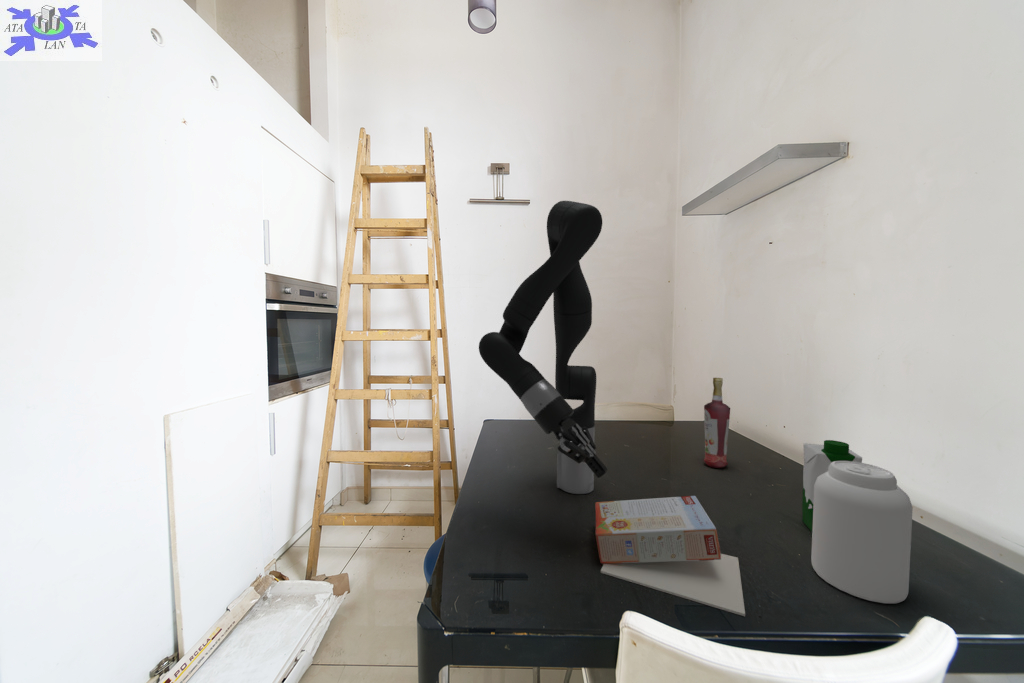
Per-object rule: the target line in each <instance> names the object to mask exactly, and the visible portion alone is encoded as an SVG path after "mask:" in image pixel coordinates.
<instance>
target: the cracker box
mask: <svg viewBox="0 0 1024 683" xmlns="http://www.w3.org/2000/svg"><path fill="white" fill-rule="evenodd" d="M594 504H595V506H594V507H595V539H596V540H595V541H596V546H597V550H598V557H599V562H600V564H604V563H634V562H665V561H699V560H721V554H722V553H721V546H720V542H719V535H718V531H717V528H716V526H715V524H714V523H713V521H712V520H711V518H710V517H709V515H708V514H707V512H706V511H705V509H704V507H703V506H702V504H701V502H700V501H699V499H698V497H697V496H696V495H686V496H685V495H683V496H670V497H668V496H667V497H657V498H656V497H655V498H641V499H639V498H638V499H623V500H611V501H609V500H608V501H597V502H595V503H594Z"/></svg>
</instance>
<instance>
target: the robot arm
mask: <svg viewBox="0 0 1024 683" xmlns="http://www.w3.org/2000/svg"><path fill="white" fill-rule="evenodd" d="M602 227H603V216H602V214H601V212H600V210H599V209H598V208H597V207H595V206H594V205H592V204H588V203H583V202H578V201H571V200H560V201H558V202H556V203H555V204H554V205H552V207H551V209H550V210H549V213H548V215H547V218H546V235H547V243H548V248H549V257H548V258H547V260H546V261H545V262H544V263H543V264H542V265H541V266H540V267H538V268H537V269H536V270H535V271H533V272H532V273H531V274H530V275H528V277H526V278H525V279H524V280H523V282H521V283H520V284H519V286H518V288H516V290H515V292H514V294H513V295H512V297H511V298H510V300H509V301H508V303H507V305H506V307H505V308H504V310H503V313H502V319H503V323H502V325H501V328H500V330H499V331H492V332H487V333H485V334H484V335H483V336H482V337H481V339H480V340H479V343H478V353H479V355H480V358H481V360H483V362H484V363H485V364H486V365H487V366H488V367H489V368H490V370H492V371H493V372H494V373H495V374H496V375H497V376H498V377H499V378H501V379H502V380H503V381H504V382H505V383H507V385H508V387H509V388H510V389H511V390H512V392H513V393H514V394H515V395H516V396H517V398H518V400H520V401H521V403H522V405H523V406H524V408H525V410H526V411H527V412H528V413H529V414H530V415H531V417H532V418H533V419H534V421H535V423H537V424H538V426H539V427H540V429H542V430H543V432H544V433H545V434H546V435H550V434H551V433H553V434H554V436H555V437H556V439H557V440H558V441H559V446H557V450H558V452H557V454H556V457H557V458H556V488H557V489H561V490H562V491H564V492H566V493H570V494H572V495H573V494H575V495H585V494H590V493H592V491H594V485H595V476H596V478H598V479H599V478H602V476H604V475H605V474H606V473H607V472H608V467H607V466H606V465H605V464H604V463H603V462H602V460H601V459H600V458H599V457H598V456H597V451H596V449H597V447H596V445H595V437H596V436H595V435H596V434H595V433H596V432H595V430H596V429H595V428H596V426H595V424H596V423H595V422H596V420H595V418H596V417H595V413H596V412H595V411H596V410H595V409H596V407H595V406H596V395H597V393H596V392H597V371H596V369H595V368H594V367H593V366H590V365H570V364H569V362H570V359H571V357H572V355H573V353H574V352H575V350H576V348H577V347H578V346H579V345H580V343H582V341H583V339H584V338H585V337H586V335H587V334H588V332H589V331H590V329H591V327H592V324H593V302H592V301H593V300H592V295H591V291H590V288H589V286H588V283H587V280H586V278H585V276H584V273H583V271H582V268H581V264H580V260H582V258H583V257H584V256H585V255H586V254H587V252H589V250H590V249H591V248H592V247H593V245H594V244H595V242H596V241H597V240H598V238H599V236H600V234H601V232H602ZM551 296H553V305H552V306H553V307H552V308H553V324H554V337H555V338H554V339H555V340H554V341H555V373H554V374H555V375H554V377H555V381H554V383H555V384H554V385H555V387H554V385H553V384H551V382H549V381H548V379H546V377H544V376H543V374H542V373H541V372H540V371H539V370H538V369H537V367H535V365H534V364H532V363H531V361H529V360H526V359H524V358H523V356H522V355H521V354H520V352H521V351H522V349H523V346H524V345H525V342H526V340H527V337H528V334H529V332H530V329H531V327H532V326H533V325H534V323H535V322H536V319H537V318H538V317H539V315H540V314H541V312H542V310H543V308H544V307H545V305H546V303H547V302H548V300H550V298H551ZM567 400H570V401H571V400H572V401H583V402H582V403H581V404H580V405H579V406H577V407H576V408H572V406H571V405H570V404H569V403H568V402H567Z"/></svg>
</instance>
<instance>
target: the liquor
mask: <svg viewBox="0 0 1024 683" xmlns="http://www.w3.org/2000/svg"><path fill="white" fill-rule="evenodd" d="M723 381H724V380H723V378H722V377H713V378H712V384H713V389H712V391H713V392H712V397H711V398H712V399H711V402H707V403H706V404H705V405H704V406H703V414H704V415H703V417H704V420H703V422H704V423H703V426H704V458H703V462H704V463H705V464H706V465H707V466H708V467H710V468H713V469H723V468H724V467H726V466H727V465H728V464H729V463H728V461H727V455H728V453H727V452H728V439H729V430H730V418H731V417H730V416H731V407H730V406H729V405H727V404H726V403H724V402H723V391H722V388H723Z"/></svg>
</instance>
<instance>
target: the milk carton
mask: <svg viewBox="0 0 1024 683" xmlns="http://www.w3.org/2000/svg"><path fill="white" fill-rule="evenodd" d="M802 444H803V472H802V473H803V474H802V475H803V476H802V497H801V498H802V502H801V504H802V505H801V508H802V510H801V515H802V517H801V518H802V519H801V520H802V522H803V523H804V525H805V526H806V527H807V528H808V529H809V531H810V532H811V533H812V530H813V504H814V484H815V482H816V479H817V477H818V476H820V475H822V474H823V473H825V472H827V471H828V467H829V465H830V464H831V463H832V462H834V461H853V462H860V463H863V457H862V456H861V455H859V454H858V453H856V452H854V451H853V450H851V449H850V444H848V443H847V442H844V441H840V440H834V439H832V440H831V439H826V440H823V444H817V443H807V442H803V443H802Z"/></svg>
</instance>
